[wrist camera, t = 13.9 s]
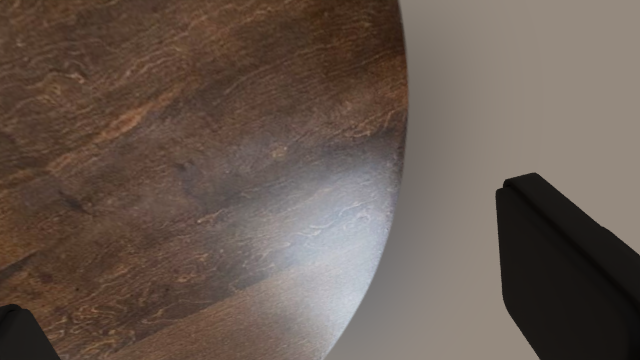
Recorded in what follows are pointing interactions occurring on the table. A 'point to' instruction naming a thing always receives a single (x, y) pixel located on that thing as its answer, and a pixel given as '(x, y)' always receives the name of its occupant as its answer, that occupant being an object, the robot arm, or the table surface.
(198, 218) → the table surface
